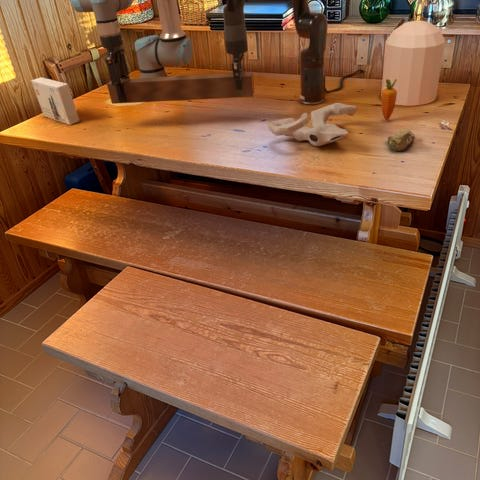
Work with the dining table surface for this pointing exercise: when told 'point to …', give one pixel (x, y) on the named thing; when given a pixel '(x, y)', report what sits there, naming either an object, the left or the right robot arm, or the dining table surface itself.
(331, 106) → the animal horns
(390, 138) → the rock
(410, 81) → the container
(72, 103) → the skincare box
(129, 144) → the dining table surface
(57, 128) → the dining table surface
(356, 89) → the dining table surface
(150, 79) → the beam
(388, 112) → the carrot
